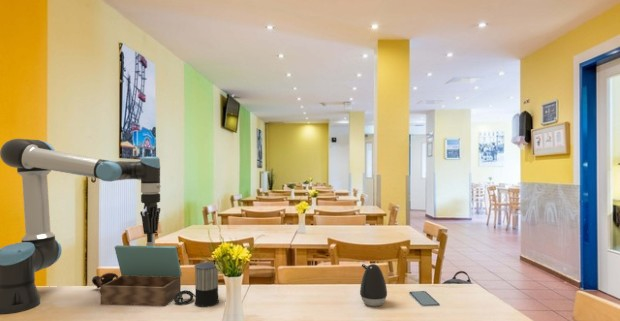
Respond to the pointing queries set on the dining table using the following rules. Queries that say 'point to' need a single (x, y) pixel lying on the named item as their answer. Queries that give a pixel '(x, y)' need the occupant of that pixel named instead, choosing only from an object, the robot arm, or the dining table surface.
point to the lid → (148, 261)
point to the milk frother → (202, 286)
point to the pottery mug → (106, 278)
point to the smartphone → (424, 298)
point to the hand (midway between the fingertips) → (150, 249)
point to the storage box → (140, 290)
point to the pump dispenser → (373, 286)
